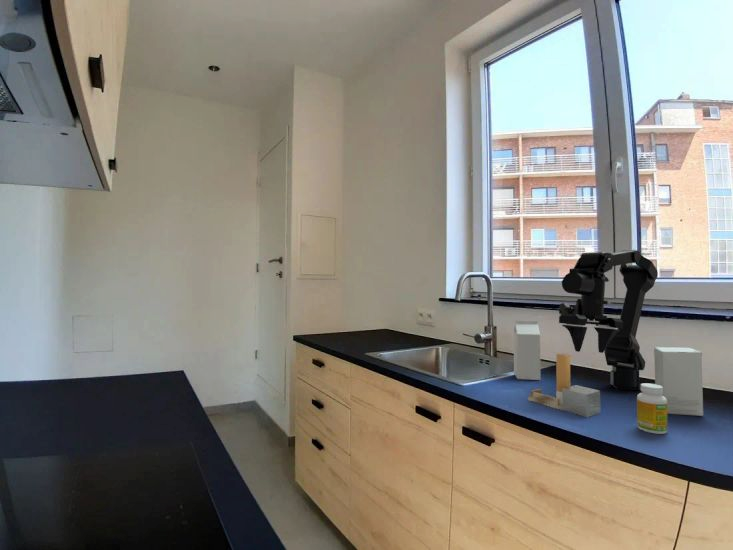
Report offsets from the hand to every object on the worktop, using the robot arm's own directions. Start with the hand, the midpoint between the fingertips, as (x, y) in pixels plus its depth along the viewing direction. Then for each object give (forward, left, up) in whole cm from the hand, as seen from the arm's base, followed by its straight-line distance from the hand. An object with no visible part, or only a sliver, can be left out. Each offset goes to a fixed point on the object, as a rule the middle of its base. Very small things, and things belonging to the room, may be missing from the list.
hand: (589, 352), depth 111 cm
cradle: (+12, +8, -13) cm, 19 cm away
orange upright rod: (+8, +12, -12) cm, 18 cm away
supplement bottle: (-6, +23, -13) cm, 27 cm away
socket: (+6, +14, -13) cm, 20 cm away
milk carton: (+13, -20, -13) cm, 27 cm away
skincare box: (-18, +8, -13) cm, 23 cm away
